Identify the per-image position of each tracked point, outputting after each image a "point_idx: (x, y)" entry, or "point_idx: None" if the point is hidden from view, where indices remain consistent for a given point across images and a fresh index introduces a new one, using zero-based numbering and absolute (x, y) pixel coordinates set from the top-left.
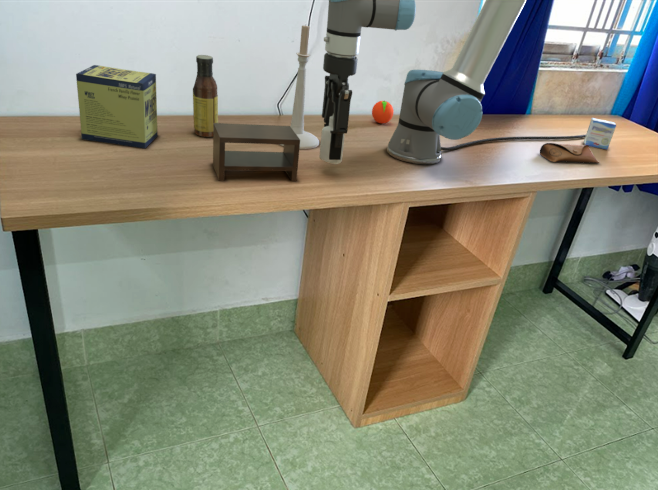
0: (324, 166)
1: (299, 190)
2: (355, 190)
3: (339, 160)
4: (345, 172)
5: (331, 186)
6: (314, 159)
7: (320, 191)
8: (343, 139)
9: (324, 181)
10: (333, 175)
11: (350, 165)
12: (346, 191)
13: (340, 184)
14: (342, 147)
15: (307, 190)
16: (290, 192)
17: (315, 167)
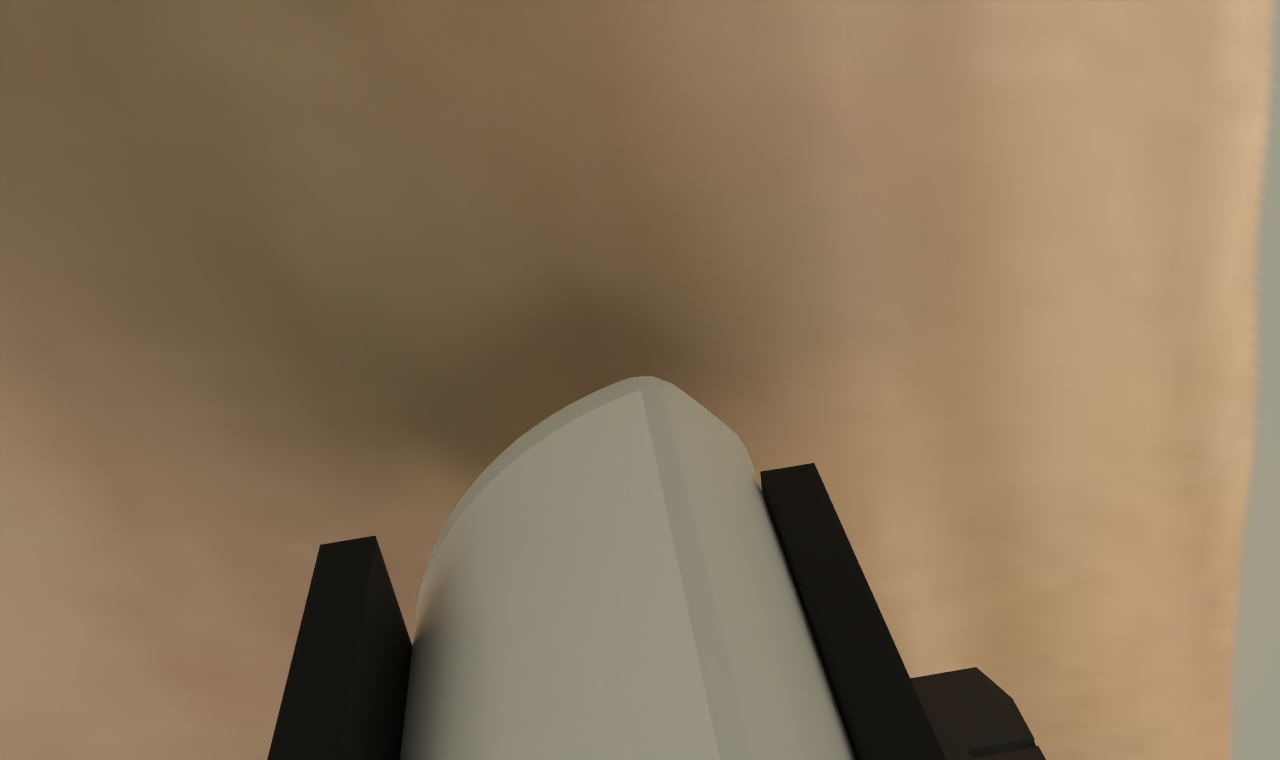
0: (284, 427)
1: (1059, 686)
2: (1122, 126)
3: (733, 444)
4: (444, 162)
5: (974, 407)
6: (44, 527)
7: (1103, 524)
8: (771, 695)
9: (824, 467)
10: (606, 347)
11: (61, 17)
12: (1138, 252)
13: (914, 296)
14: (744, 565)
15: (1065, 628)
16: (1095, 745)
17: (365, 531)
